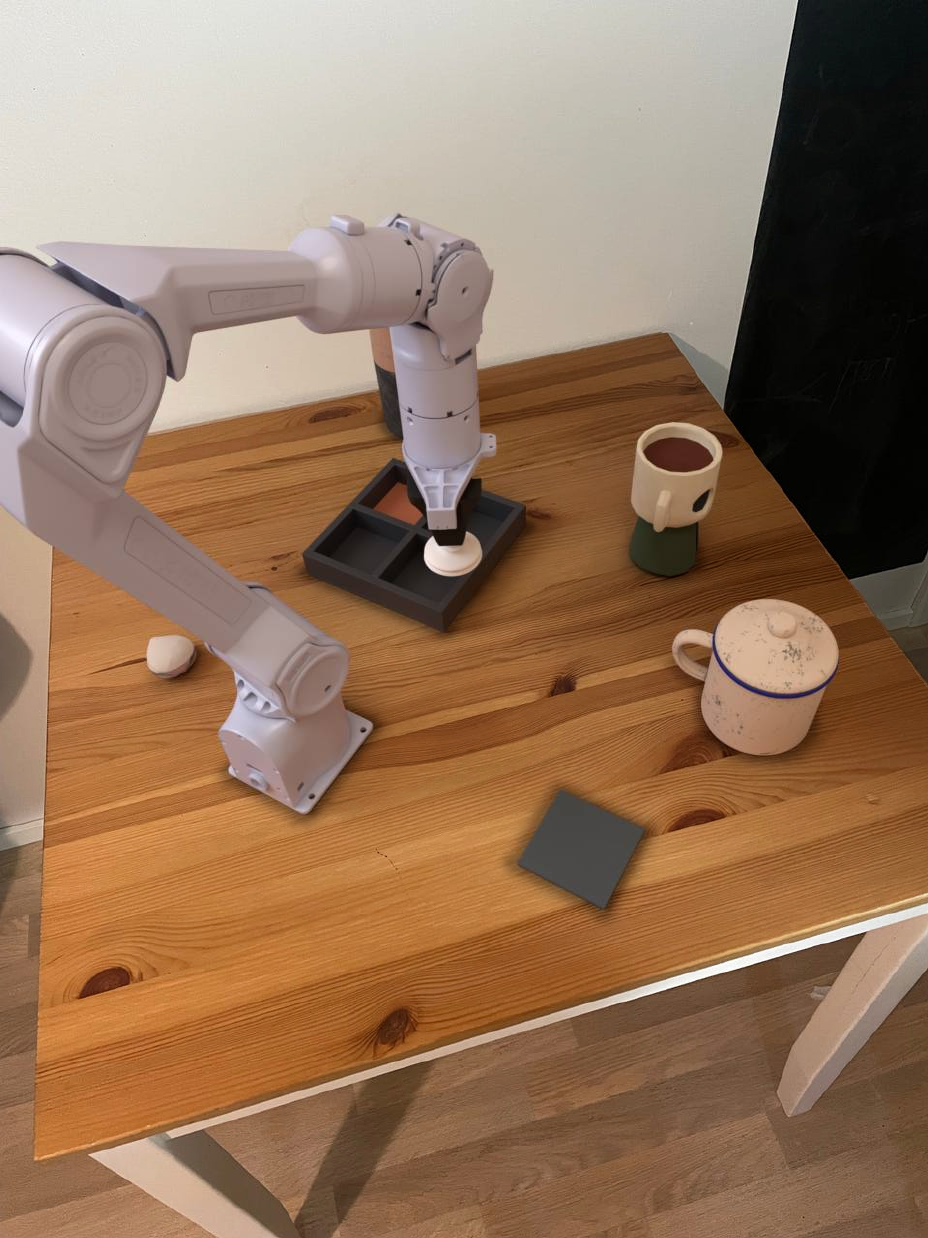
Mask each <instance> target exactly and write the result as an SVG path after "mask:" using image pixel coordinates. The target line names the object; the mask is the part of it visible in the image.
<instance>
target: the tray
mask: <svg viewBox="0 0 928 1238" xmlns="http://www.w3.org/2000/svg"><path fill="white" fill-rule="evenodd" d="M408 476H412V474H411V472H410V471H409V469H408V467H407V465H406V463H405V461H403V460H401V459H397V458H395V457H391V459H390V460H389V461H388V462H387V463H386V464H385V465H384V466H383V467H382V469H380V471H379V472H378V473H377V474H376V475H375V476H374V477H373V478H372V479H371V481H369V482H368V484H366V485H365V486H364V487H363V488H362V490H360V492H359V493H357V495H356V496H355V497H354V498H353V499H352V500H351V501H350V502H349V503H348V504H347V506H346V507H344V509H342V510H341V512H340V513H339V514H338V515H336V517H335V518H334V519H333V520H332V521H331V522H330V523H329V524H328V525H327V527H326V528H324V530H323V531H322V532H320V534H319V535H318V536H317V537H316V538H315V539H314V540H313V541H312V542H311V543H310V544H309V546H307V548H306V549H305V550H303V552H302V553H301V556H302V559H303V563H304V566H305V567H304V568H305V570H306V574H307V575H308V576H311V577H314V578H316V579H319V581H320V580H321V581H322V582H325V583H327V584H330V585H332V586H335V587H337V588H339V589H341V590H344V591H346V592H349V593H351V594H353V595H355V596H358V597H360V598H363V599H365V600H367V601H370V602H372V603H374V604H376V605H379V606H381V607H383V608H386V609H388V610H390V611H393V612H395V613H397V614H399V615H402V616H404V617H406V618H409V619H410V620H413V621H416V622H419V623H420V624H423V625H425V626H427V627H430V628H432V629H435V630H437V631H439V632H442V633H445V632H446V631H447V630H448V629H449V628H450V626H451V625H452V623H453V622H454V621H455V620H456V619H457V617H458V616H459V614H460V613H461V611H462V610H464V608H465V607H466V605H467V604H468V602H469V601H470V600H471V598H472V597H473V596H474V594H475V593H476V592H477V591H478V590H479V588H480V587H481V585H482V584H483V583H484V582H485V580H486V579H487V578H488V576H489V575H490V574H491V572H492V571H493V570H494V569H495V567H496V566H497V565H498V563H499V562H500V561H501V560H502V558H503V557H504V556H505V554H506V553H507V552H508V550H509V549H510V548H511V546H513V544H514V543H515V541H516V540H517V539H518V537H519V536H520V535H521V533H523V531H524V530H525V529H526V527H527V505H526V504H524V503H522V502H519V501H516V500H512V499H510V498H507V497H504V496H501V495H498V494H497V493H493V492H490V491H487V490H485V489H482V493H481V496H480V499H479V501H478V503H477V504H476V505H475V506H474V508H473V509H472V511H471V513H470V516H469V519H468V524H467V530H466V531H467V532H469V533H471V534H473V535H474V536H475V537H476V538H477V539H478V541H479V543H480V545H481V549H482V558H481V561H480V563H479V564H478V565H477V567H476V568H474V569H473V570H472V571H470V572H468V573H466V574H463V575H460V576H443V575H440V574H437V573H435V572H434V571H432V570H431V569H430V568H429V567H428V566H427V564H426V563H425V560H424V550H425V546H426V543H427V542H428V540H429V539H430V538H431V537H432V536H433V535H432V532H431V530H429V528H428V523H427V521H426V519H425V517H424V516H423V515H422V513H421V512H420V511H419V510H418V509H417V508H416V507H415V506H413V505H412V504H411V503H410V501H409V499H408V496H407V478H408Z"/></svg>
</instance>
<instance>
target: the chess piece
mask: <svg viewBox="0 0 928 1238" xmlns="http://www.w3.org/2000/svg"><path fill="white" fill-rule="evenodd" d="M481 558H482V549H481V545H480V543H479V541H478V539H477V538H476V537H475V536H474V535H473V534H471V533H469V532H467V531H466V536H465V539H464V542H463V545H461V546H438V545H437V543H436V541H435V539H434V537H433V536H432V537H431V538H430V539H429V540H428V542H427V543H426V546H425V550H424V560H425V563H426V564H427V566H428V567H429V568H430V569H431V570H432V571H434V572H435V573H437V574H440V575H443V576H460V575H463V574H466V573H468V572H470V571H472V570H473V569H474V568H476V567H477V565H478V564H479V563H480V561H481Z"/></svg>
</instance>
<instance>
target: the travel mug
mask: <svg viewBox="0 0 928 1238" xmlns="http://www.w3.org/2000/svg"><path fill="white" fill-rule="evenodd" d="M368 330H369V337H370V339H369V340H370V345H371V352H372V359H373V364H374V369H375V370H374V371H375V375H376V380H377V385H378V392H379V396H380V401H381V402H380V403H381V407H382V412H383V418H384V422H385V426H386V428H387V430H388V431H389V432H390V433H391V434H393V436H396V437H398V438H400V439H404V437H403V429H402V421H401V413H400V407H399V397H398V390H397V382H396V374H395V366H394V358H393V351H392V344H391V336H390V328H389V327H384V328H375V329H368Z"/></svg>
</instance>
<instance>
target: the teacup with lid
mask: <svg viewBox="0 0 928 1238" xmlns="http://www.w3.org/2000/svg"><path fill="white" fill-rule="evenodd" d="M824 621H825V620H823V619H822V618H821V617H820V616H818V615H817V614H816V613H814V612H813V611H811V610H809V609H808V608H806V607H803V606H801V605H799V604H797V603H795V602H790V601H786V600H781V599H776V598H774V599H773V598H762V599H754V600H750V601H746V602H744V603H740V604H738V605H736V606H735V607H733V608H731V609H730V610H729V611H728V612H727V613H725V615H723V616H722V618H720V620H719V621H718V623H717V625H716V626H715V628H714V631H713V633H711V632H708V631H705V630H702V629H693V628H692V629H685V630H682V631H680V632H678V633H677V635H676V636H675V638H674V639H673V642H672V645H671V653H672V657H673V659H674V661H675V663H676V665H677V666H678V667H679V668H680V669H681V670H682V671H683V672H684V673H685V674H687V675H689V676H691V677H692V678H694V679H697V680H699V681H702V682H704V686H703V689H702V695H701V699H700V708H701V709H700V711H701V714H702V717H703V720H704V722H705V724H706V726H707V727H708V729H709V731H711V733H712V734H713V735H714V736H715V737H716V739H718V740H719V741H720V742H721V743H723V744H725V745H726V746H728V747H730V748H732V749H733V750H736V751H738V752H740V753H744V754H748V755H754V756H774V755H779V754H783V753H786V752H788V751H790V750H792V749H793V748H795V747H796V746H798V745H799V744H800V743H801V742H802V741H803V740H804V739H805V737H806V736H807V734H808V733H809V730H810V727H811V724H812V722H813V720H814V718H815V715H816V713H817V711H818V708H819V705H820V703H821V700H822V698H823V697H824V693H825V690H826V688H827V686H828V684H830V682H831V681H832V680H833V678H834V677H835V675H836V673H837V671H838V668H839V665H840V652H839V645H838V642H837V639H836V637H835V635H834V633H833V632H832V630H831V628H830V627H829V626H828V625H827V624H826V622H824ZM688 644H692V645H698V646H701V647H705V648H707V649H710V650H712V651H711V656H710V661H709V665H708V667H707V666H705V665H702V664H700V663H698V662H696V661H695V660H693V659H692V658H691V657H690V656H689V655H688V653H687V652H686V650H685V648H684V645H688Z"/></svg>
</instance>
